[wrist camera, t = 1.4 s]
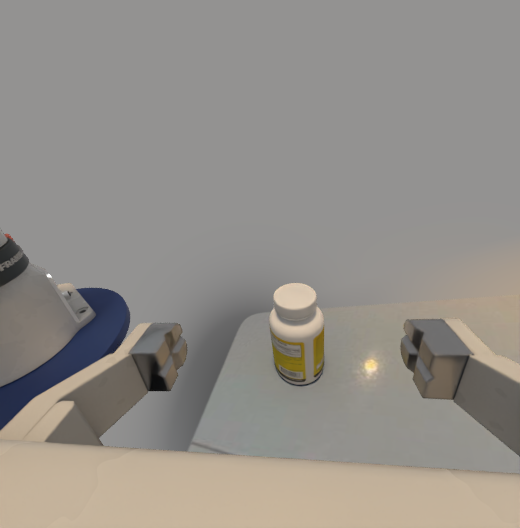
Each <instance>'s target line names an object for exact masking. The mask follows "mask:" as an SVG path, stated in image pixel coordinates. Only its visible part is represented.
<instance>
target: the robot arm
mask: <svg viewBox="0 0 520 528" xmlns="http://www.w3.org/2000/svg"><path fill="white" fill-rule="evenodd" d="M95 316H96V313H95V312H94V311H93V309H92V308H91V307H90V306H89V305H88V303H87V302H86V301H85V300H84V298H83V297H82V296H81V295H80V294H79V292H78V291H77V290H76V289H75V288H74V286H73V285H72V284H71V283H66V284H59V285H56V284H55V282H54V280H53V279H52V277H51V276H50V275H49V274H48V273H47V271H46V270H45V269H43V268H41V267H38V266H36V265H34V264H31V263H29V259H28V258H27V257H26V255H25V254H24V253H23V250H22V249H21V248H20V246H18V245H16V243H15V242H14V241H13V238H11V236H9V234H4V233H3V232H2V230H1V229H0V387H1V386H4V385H6V384H8V383H11V382H13V381H15V380H17V379H19V378H21V377H23V376H24V375H26V374H28V373H30V372H31V371H33V370H35V369H36V368H38V367H39V366H41V365H42V364H44V363H45V362H47V361H48V360H49V359H51V358H52V357H53V356H54V355H56V354H57V353H58V352H59V351H60V350H61V349H63V348H64V347H65V346H66V345H67V344H68V342H69V341H70V340H71V339H72V338H73V337H74V335H75V334H76V333H77V332H78V331H79V330H80V329H81V328H82V327H84V326H85V325H86V324H88V323H89V322H90V321H91V320H92V319H94V317H95ZM403 329H404V331H405V333H406V334H407V335H406V336H405V337H403V338H402V339H401V355H402V358H403V361H404V363H405V365H406V367H407V368H408V369H409V370H411V371H412V372H413V373H414V376H413V381H414V383H415V385H416V386H417V388H418V390H419V392H420V394H421V396H422V398H429V399H447V400H454V402H455V403H456V404H457V405H459V406H460V407H461V408H462V409H463V410H465V411H466V412H467V413H468V414H469V415H471V416H472V417H473V418H474V419H475V420H477V421H478V422H479V423H480V424H481V425H483V426H484V427H485V428H486V429H487V430H489V431H490V432H491V433H492V434H493V435H495V436H496V437H497V438H498V439H499V440H501V441H502V442H503V443H504V444H505V445H507V446H508V447H509V448H510V449H511V450H513V451H514V452H515V453H516V454H517V455H519V456H520V364H518V363H516V362H514V361H512V360H510V359H508V358H506V357H504V356H496V355H495V354H494V353H493V352H492V351H491V350H490V349H489V348H488V347H487V346H486V345H485V344H484V343H483V341H482V340H481V339H480V338H479V337H478V336H477V335H476V334H475V333H474V332H473V331H472V330H471V329H470V328H469V327H468V326H467V325H466V324H465V323H464V322H463V321H462V320H460V319H458V318H440V319H412V320H406V322H405V323H404V328H403ZM181 333H182V328H181V326H180V324H178V323H141V324H139V325H138V326H137V327H136V328H135V329H134V330H133V332H132V333H131V334H130V335H129V336H128V338H127V339H126V340H125V341H124V342H123V343H122V345H121V346H120V347H119V348H118V349H117V350H116V352H115V353H114V354H109V355H107V356H105V357H103V358H102V359H100V360H98V361H97V362H95V363H93V364H91V365H90V366H88V367H86V368H84V369H83V370H81V371H79V372H78V373H76V374H74V375H72V376H71V377H69V378H67V379H65V380H64V381H62V382H60V383H59V384H57V385H55V386H53V387H52V388H50V389H48V390H46V391H45V392H43V393H41V394H40V395H38V396H36V397H34V398H33V399H32V400H31V401H30V402H29V403H28V404H27V405H26V406H25V407H24V408H23V409H22V410H21V411H20V412H19V413H18V414H17V415H16V416H15V417H14V418H13V419H12V420H11V421H10V422H9V423H8V424H7V425H6V426H5V427H3V428H2V429H1V430H0V528H520V474H518V473H503V472H487V471H472V470H457V469H442V468H427V467H412V466H397V465H381V464H366V463H351V462H336V461H321V460H306V459H290V458H275V457H260V456H245V455H229V454H214V453H199V452H183V451H169V450H154V449H138V448H124V447H109V446H103V444H102V443H101V441H100V440H99V437H100V436H101V435H103V434H104V433H105V432H106V431H107V430H108V429H109V428H110V427H111V426H112V425H114V424H115V423H116V422H117V421H118V420H119V419H120V418H121V417H122V416H123V415H124V414H125V413H126V412H128V411H129V410H130V409H131V408H132V407H133V406H134V405H135V404H136V403H137V402H138V401H139V400H141V399H142V398H143V397H144V396H145V395H146V394H147V393H148V391H171V389H172V387H173V385H174V383H175V381H176V378H177V376H178V373H177V369H179V368H180V367H181V366H183V364H184V362H185V360H186V355H187V344H186V341H185V339H183V338H182V337H181V336H180V335H181Z"/></svg>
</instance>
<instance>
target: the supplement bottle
mask: <svg viewBox="0 0 520 528" xmlns="http://www.w3.org/2000/svg"><path fill="white" fill-rule="evenodd" d="M273 298H274V309H273V310H272V312H271V314H270V317H269V325H270V333H271V340H272V347H273V354H274V361H275V366H276V369H277V371H278V373H279V375H280V376H281V377H282V378H283V379H284V380H286V381H288V382H290V383H292V384H297V385H303V384H308V383H311V382H313V381H315V380H316V379H317V378H318V377H319V376H320V375H321V373H322V370H323V366H324V317H323V314H322V312H321V310H320V309H319V308H318V307H317V299H316V293H315V291H314V290H313V289H312V288H311V287H310V286H308V285H305V284H300V283H291V284H286V285H284V286H281V287H280V288H278V289H277V290H276V291H275V293H274V297H273Z"/></svg>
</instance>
